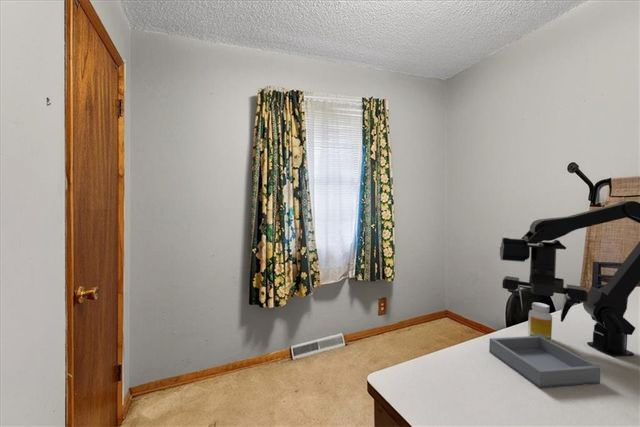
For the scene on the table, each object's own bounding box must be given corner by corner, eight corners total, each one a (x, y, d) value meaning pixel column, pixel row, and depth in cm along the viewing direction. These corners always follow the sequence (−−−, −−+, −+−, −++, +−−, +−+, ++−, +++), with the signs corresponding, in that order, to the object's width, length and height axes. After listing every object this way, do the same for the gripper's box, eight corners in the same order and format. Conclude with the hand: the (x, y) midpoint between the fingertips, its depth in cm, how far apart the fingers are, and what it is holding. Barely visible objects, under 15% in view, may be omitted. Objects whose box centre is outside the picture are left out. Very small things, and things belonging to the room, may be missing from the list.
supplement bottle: (555, 343, 79) (557, 309, 78) (533, 341, 80) (535, 307, 79) (544, 334, 84) (545, 302, 84) (524, 332, 85) (525, 300, 85)
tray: (539, 349, 75) (539, 335, 75) (599, 383, 61) (600, 367, 61) (489, 351, 74) (489, 338, 73) (539, 388, 59) (540, 371, 59)
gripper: (501, 263, 80) (499, 317, 81) (591, 274, 69) (589, 337, 69) (505, 257, 89) (503, 306, 90) (585, 266, 78) (583, 322, 78)
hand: (540, 317), depth 82 cm, fingers open, 9 cm apart
